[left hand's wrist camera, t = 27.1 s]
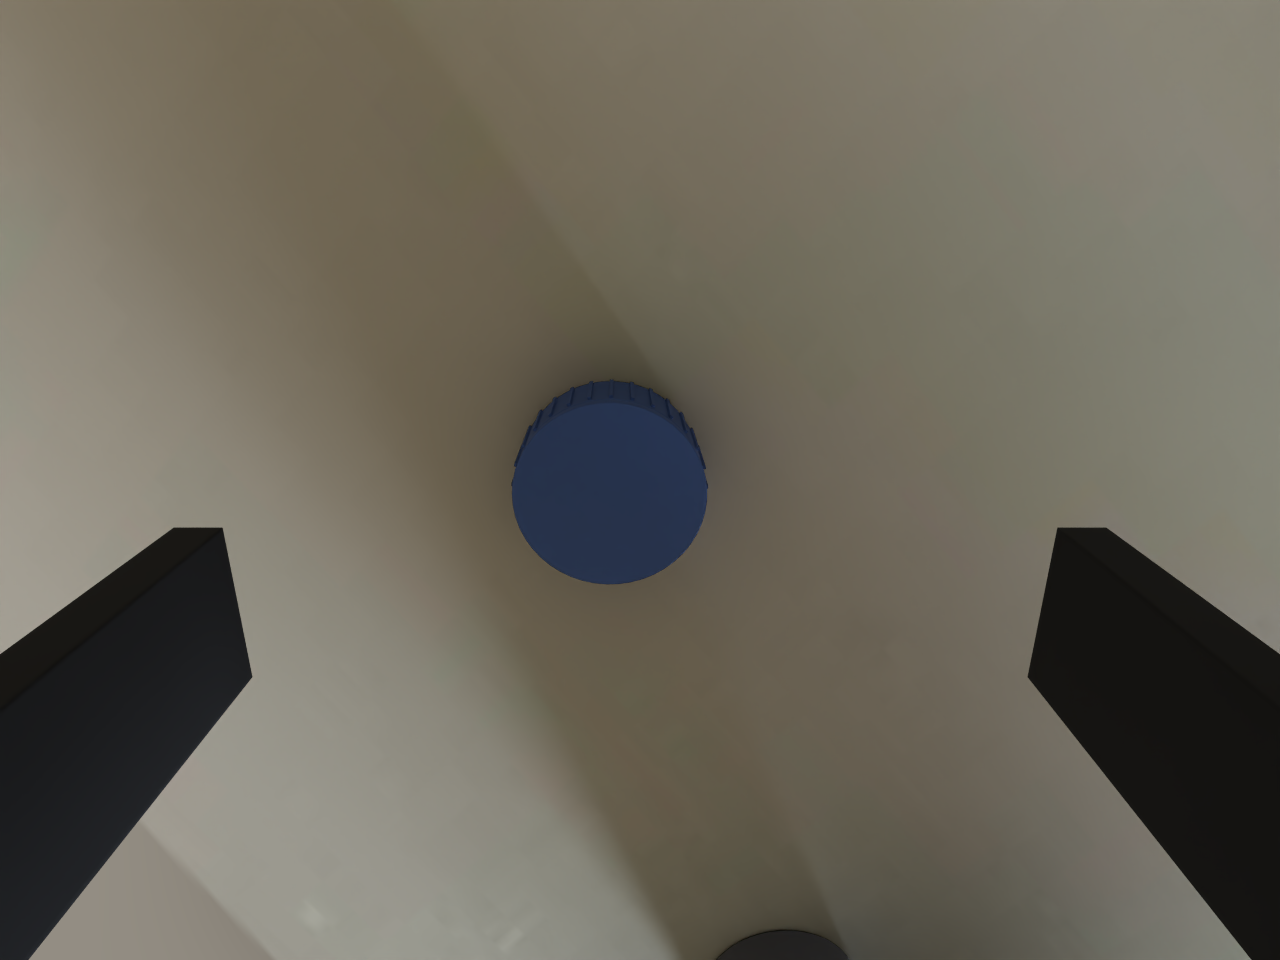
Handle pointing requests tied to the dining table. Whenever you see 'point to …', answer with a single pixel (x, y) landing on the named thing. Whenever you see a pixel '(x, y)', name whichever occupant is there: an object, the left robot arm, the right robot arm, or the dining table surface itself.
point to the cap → (609, 483)
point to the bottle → (784, 947)
